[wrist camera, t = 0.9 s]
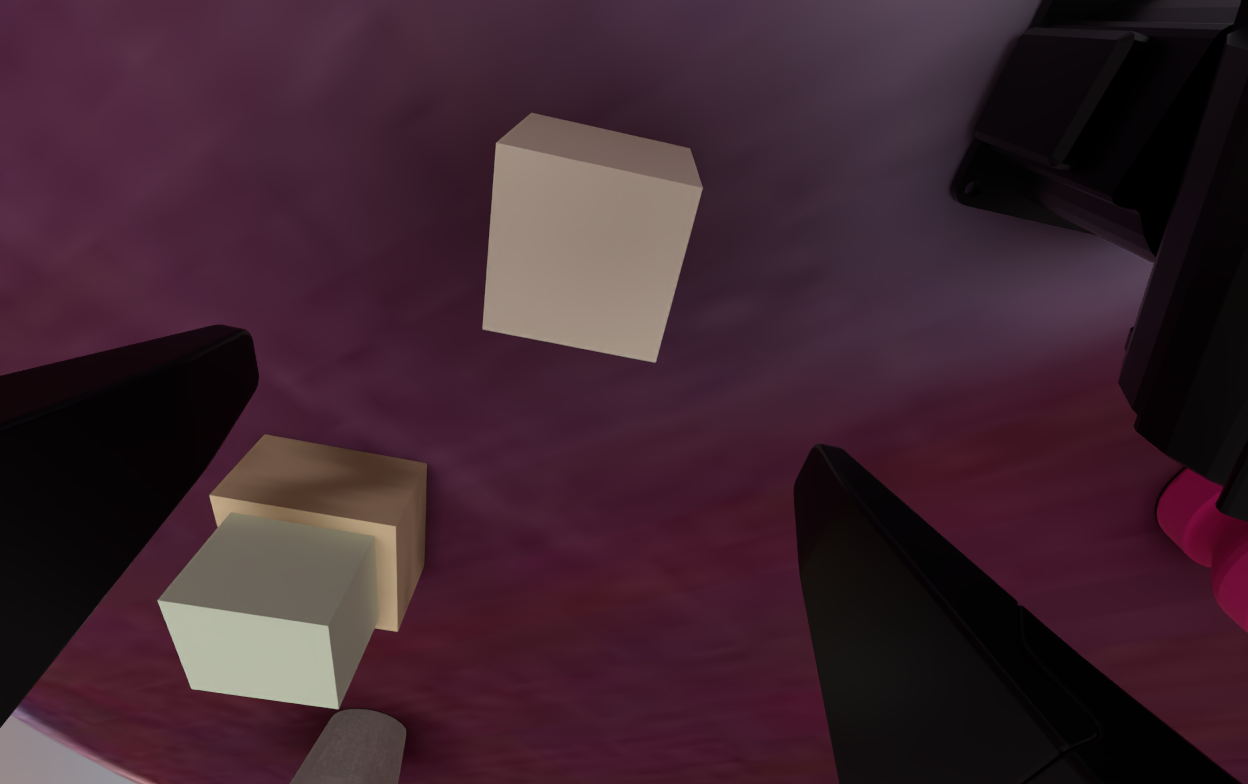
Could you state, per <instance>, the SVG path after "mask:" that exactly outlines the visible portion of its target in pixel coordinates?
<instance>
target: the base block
mask: <svg viewBox="0 0 1248 784" xmlns="http://www.w3.org/2000/svg"><path fill="white" fill-rule="evenodd" d="M426 479H427V463H422V462H417V461H411V460H406V459H400V458H394V457H389V456H383V455H378V454H372V453H366V452H361V451H355V450H350V449H344V448H338V447H333V446H327V445H322V444H316V443H310V442H305V441H299V440H294V439H288V438H282V437H277V436H271V435H266V434H264V435H263V437H262V438H261V439H260V440H259V441H258V442H257V443H256V444H255V445H254V446H253V448H252V449H251V450H250V451H249V452H248V453H247V454H246V455H245V456H244V457H243V459H242V460H241V461H240V462H239V463H238V464H237V465H236V466H235V467H234V468H233V470H232V471H231V472H230V473H229V474H228V475H227V476H226V477H225V478H224V479H223V481H222V482H221V483H220V484H219V485H218V486H217V487H216V488H215V489H214V490H213V492H212V493H211V494H210V495H209V496H210V500H211V503H212V507H213V511H214V515H215V519H216V522H217V526H218V527H219V526H220V525H221V523H222V522H223V521H224V520H225V518H226V517H227V516H228V515H229V514H230V512H232V513H238V514H244V515H250V516H257V517H263V518H269V519H275V520H281V521H287V522H293V523H299V524H305V525H311V526H317V527H323V528H329V529H335V530H341V531H347V532H353V533H359V534H365V535H371V536H375V551H376V574H377V596H378V618H379V619H378V621H377V624H376V626H375V628H377V629H384V630H390V631H397V632H398V630H399V627H400V625H401V622H402V620H403V617H404V615H405V612H406V610H407V607H408V605H409V602H410V600H411V597H412V595H413V592H414V590H415V588H416V585H417V583H418V580H419V578H420V575H421V573H422V570H423V568H424V562H425V521H426Z"/></svg>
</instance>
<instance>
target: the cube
mask: <svg viewBox="0 0 1248 784" xmlns="http://www.w3.org/2000/svg"><path fill="white" fill-rule="evenodd" d="M702 189H703V187H702V184H701V181H700V178H699V174H698V171H697V168H696V165H695V162H694V159H693V156H692V152H691V149H690V148H686V147H682V146H678V145H673V144H669V143H664V142H660V141H655V140H651V139H646V138H642V137H638V136H633V135H629V134H624V133H620V132H615V131H611V130H606V129H602V128H597V127H593V126H589V125H584V124H580V123H575V122H571V121H566V120H562V119H557V118H553V117H549V116H544V115H540V114H535V113H530V114H529V115H528V116H527V117H526V118H525V119H523V120H522V121H521V122H520V123H519V124H518V125H516V126H515V127H514V128H513V129H512V130H510V131H509V132H508V133H507V134H506V135H505V136H503V137H502V138H501V139H500V140H499V141H498V142H496V151H495V165H494V178H493V192H492V206H491V219H490V233H489V247H488V260H487V274H486V288H485V301H484V315H483V330H488V331H493V332H499V333H504V334H509V335H514V336H519V337H525V338H530V339H535V340H540V341H545V342H550V343H556V344H561V345H566V346H571V347H576V348H582V349H587V350H592V351H597V352H602V353H608V354H613V355H618V356H623V357H628V358H634V359H639V360H644V361H649V362H654V363H656V360H657V356H658V352H659V348H660V345H661V341H662V337H663V334H664V330H665V326H666V323H667V319H668V315H669V311H670V308H671V304H672V300H673V297H674V293H675V289H676V286H677V282H678V278H679V274H680V271H681V267H682V263H683V260H684V256H685V252H686V249H687V245H688V241H689V237H690V234H691V230H692V226H693V223H694V219H695V215H696V212H697V208H698V204H699V200H700V197H701V193H702Z"/></svg>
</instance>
